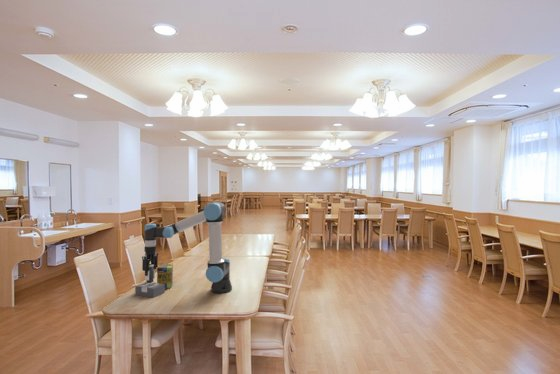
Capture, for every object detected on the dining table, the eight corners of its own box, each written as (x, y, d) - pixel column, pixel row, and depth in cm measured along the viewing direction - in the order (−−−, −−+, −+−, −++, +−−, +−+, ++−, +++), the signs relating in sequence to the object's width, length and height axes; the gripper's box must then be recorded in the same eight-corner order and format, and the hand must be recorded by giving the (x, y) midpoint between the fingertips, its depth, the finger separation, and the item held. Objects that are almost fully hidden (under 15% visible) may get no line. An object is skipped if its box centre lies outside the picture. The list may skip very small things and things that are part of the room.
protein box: (156, 289, 240) (157, 268, 240) (158, 283, 255) (158, 263, 255) (171, 288, 243) (172, 267, 243) (172, 282, 258) (173, 262, 258)
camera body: (165, 292, 233) (165, 283, 233) (153, 297, 222) (153, 287, 222) (147, 289, 239) (147, 280, 239) (134, 294, 227) (134, 285, 227)
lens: (155, 281, 232) (155, 264, 232) (150, 283, 227) (150, 265, 227) (149, 280, 233) (149, 263, 233) (144, 282, 229) (144, 264, 229)
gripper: (155, 243, 240) (154, 275, 240) (136, 247, 223) (136, 281, 223) (163, 244, 237) (163, 276, 237) (145, 248, 220) (144, 283, 221)
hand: (150, 279), depth 230 cm, fingers closed on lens, 5 cm apart
